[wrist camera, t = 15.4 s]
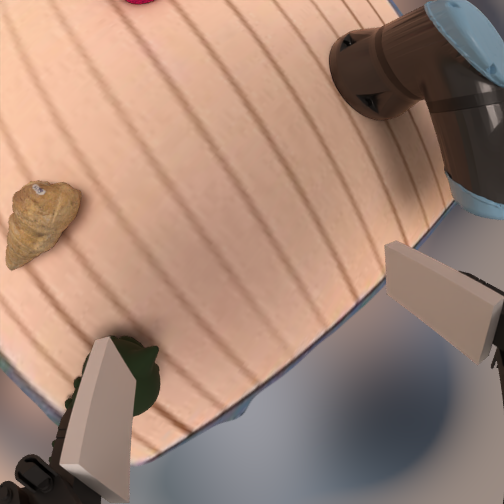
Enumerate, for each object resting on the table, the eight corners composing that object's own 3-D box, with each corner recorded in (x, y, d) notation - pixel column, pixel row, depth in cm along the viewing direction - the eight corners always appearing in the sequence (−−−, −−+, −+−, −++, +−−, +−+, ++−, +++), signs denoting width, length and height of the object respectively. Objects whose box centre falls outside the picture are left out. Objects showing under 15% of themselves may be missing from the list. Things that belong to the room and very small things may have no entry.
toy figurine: (101, 422, 38) (189, 330, 37) (88, 515, 21) (204, 447, 19) (53, 392, 35) (131, 287, 34) (22, 484, 17) (97, 395, 16)
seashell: (44, 286, 31) (20, 309, 23) (1, 249, 28) (-30, 265, 20) (96, 196, 31) (78, 199, 23) (50, 158, 28) (22, 152, 21)
